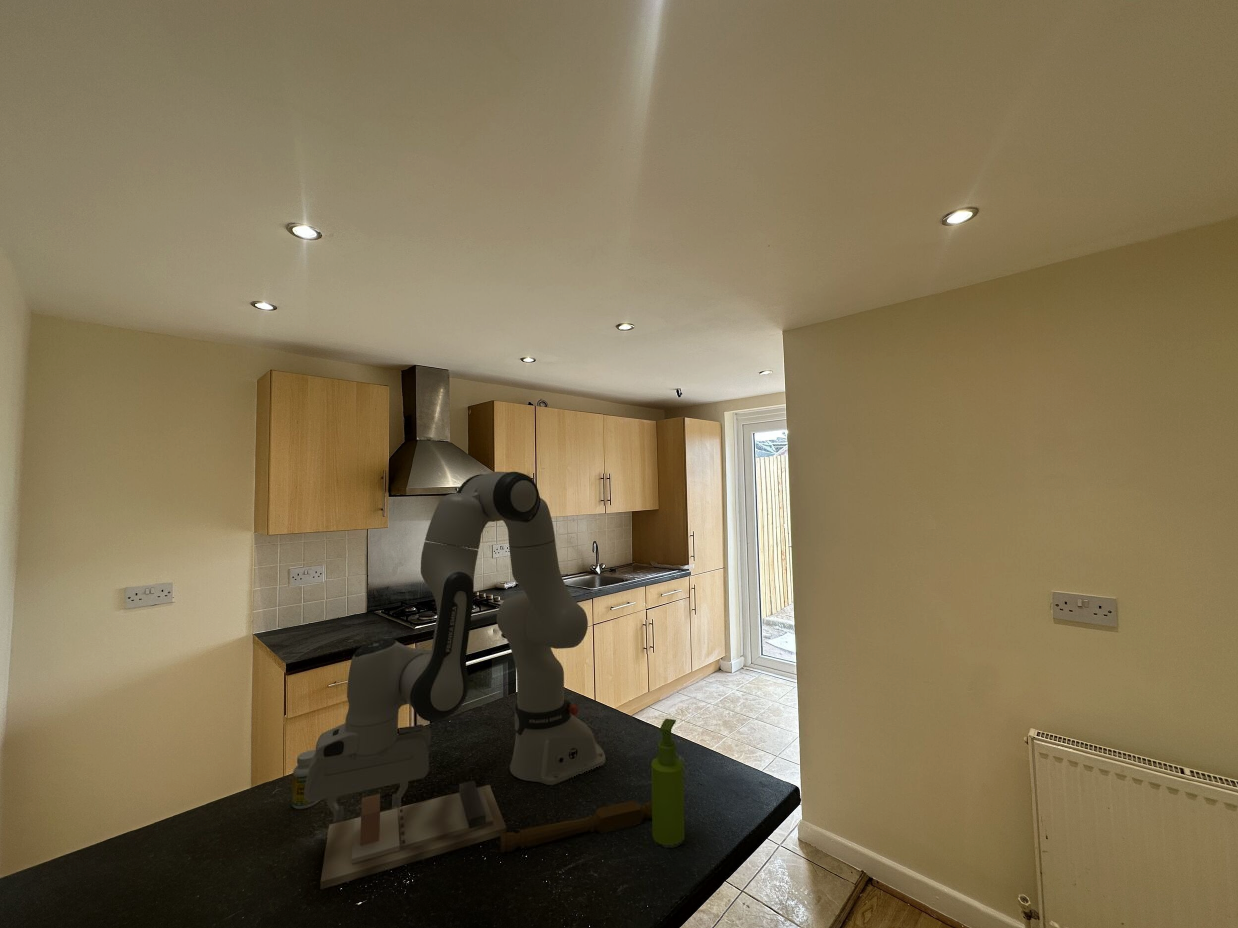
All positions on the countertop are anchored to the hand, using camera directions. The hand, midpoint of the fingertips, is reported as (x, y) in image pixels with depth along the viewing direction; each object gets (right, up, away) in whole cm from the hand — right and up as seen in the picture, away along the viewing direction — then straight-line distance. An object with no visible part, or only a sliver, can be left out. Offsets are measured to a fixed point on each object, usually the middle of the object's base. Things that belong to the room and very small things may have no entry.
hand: (368, 812), depth 90 cm
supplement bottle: (-20, -8, +14) cm, 25 cm away
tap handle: (+39, -7, +3) cm, 39 cm away
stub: (+1, -5, 0) cm, 5 cm away
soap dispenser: (+55, -6, +2) cm, 55 cm away
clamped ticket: (+8, -6, +3) cm, 10 cm away
